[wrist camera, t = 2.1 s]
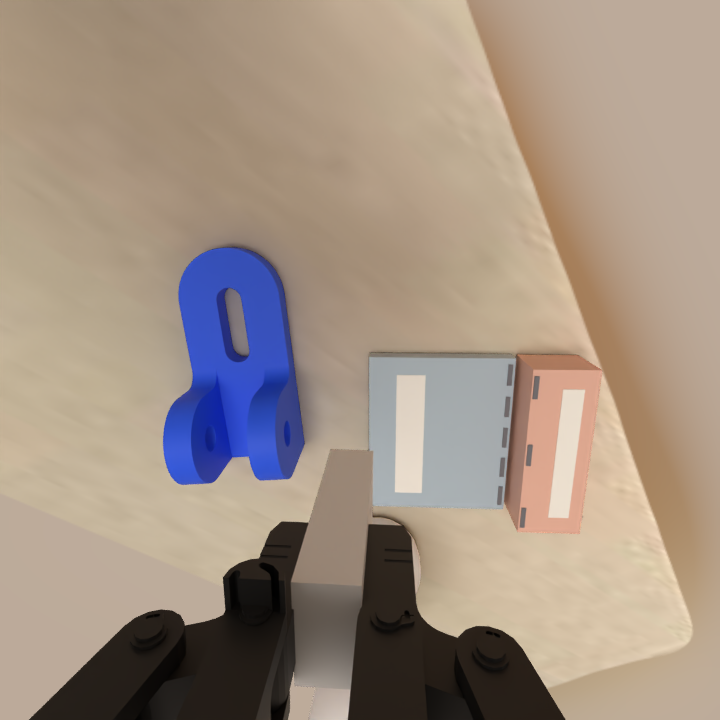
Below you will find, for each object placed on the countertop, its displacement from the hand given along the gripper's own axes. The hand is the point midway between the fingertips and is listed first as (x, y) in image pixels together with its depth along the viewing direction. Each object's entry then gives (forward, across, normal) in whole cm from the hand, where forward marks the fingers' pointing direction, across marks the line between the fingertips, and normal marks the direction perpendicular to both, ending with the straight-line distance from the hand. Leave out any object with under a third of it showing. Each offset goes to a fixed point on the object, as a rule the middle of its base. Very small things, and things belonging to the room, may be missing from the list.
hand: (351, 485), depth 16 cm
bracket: (+24, -11, -1) cm, 26 cm away
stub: (+24, +15, -7) cm, 29 cm away
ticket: (+24, +6, -7) cm, 26 cm away
